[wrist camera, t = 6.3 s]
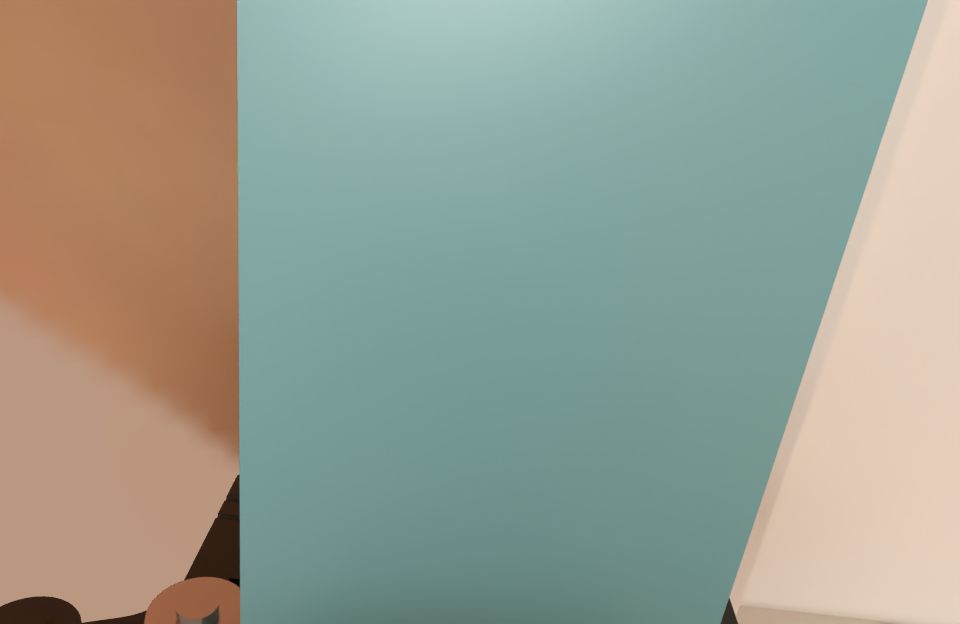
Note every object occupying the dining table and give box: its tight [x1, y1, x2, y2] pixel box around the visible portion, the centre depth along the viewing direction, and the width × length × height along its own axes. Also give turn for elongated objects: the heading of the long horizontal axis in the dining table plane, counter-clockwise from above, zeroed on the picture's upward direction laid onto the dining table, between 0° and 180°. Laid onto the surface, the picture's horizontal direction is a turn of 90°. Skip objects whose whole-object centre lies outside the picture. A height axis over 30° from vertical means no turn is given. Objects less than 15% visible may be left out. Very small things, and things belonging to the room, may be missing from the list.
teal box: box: [237, 0, 928, 624], centre depth 10 cm, size 5×13×7 cm, turn 173°
